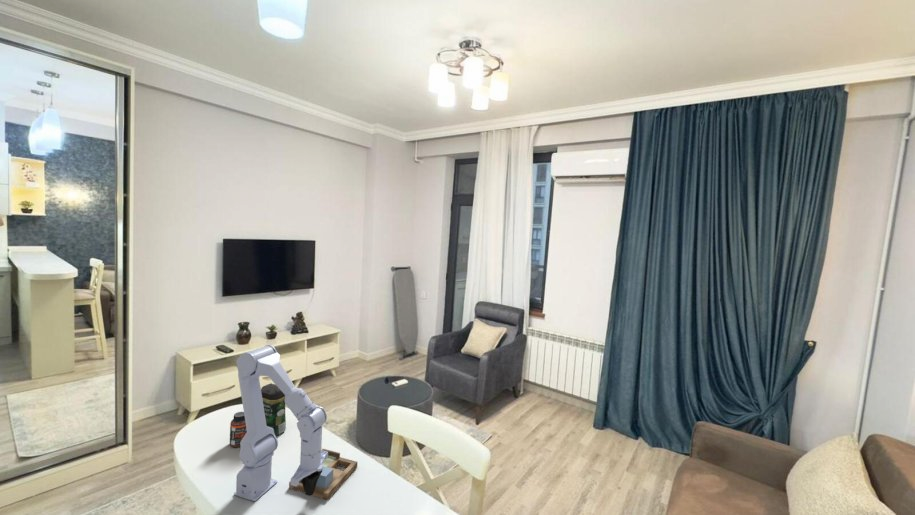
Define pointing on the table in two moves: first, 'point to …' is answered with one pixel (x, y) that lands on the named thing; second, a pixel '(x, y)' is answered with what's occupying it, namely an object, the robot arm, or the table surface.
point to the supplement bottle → (237, 429)
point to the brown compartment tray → (338, 475)
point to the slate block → (325, 477)
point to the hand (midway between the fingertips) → (309, 493)
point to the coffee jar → (274, 408)
